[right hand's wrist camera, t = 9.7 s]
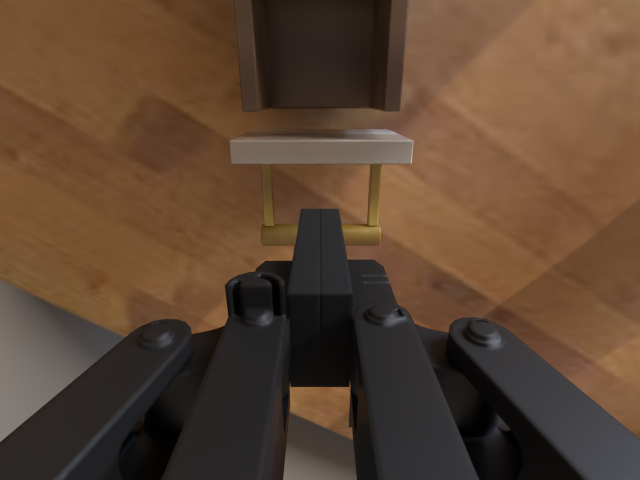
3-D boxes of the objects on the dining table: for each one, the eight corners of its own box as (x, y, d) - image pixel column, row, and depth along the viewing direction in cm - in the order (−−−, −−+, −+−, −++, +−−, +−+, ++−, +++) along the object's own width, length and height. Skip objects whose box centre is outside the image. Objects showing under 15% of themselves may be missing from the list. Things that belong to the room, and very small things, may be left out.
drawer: (382, 225, 27) (401, 265, 20) (259, 225, 27) (240, 265, 20) (416, -263, 17) (473, -478, 11) (225, -263, 17) (169, -479, 11)
